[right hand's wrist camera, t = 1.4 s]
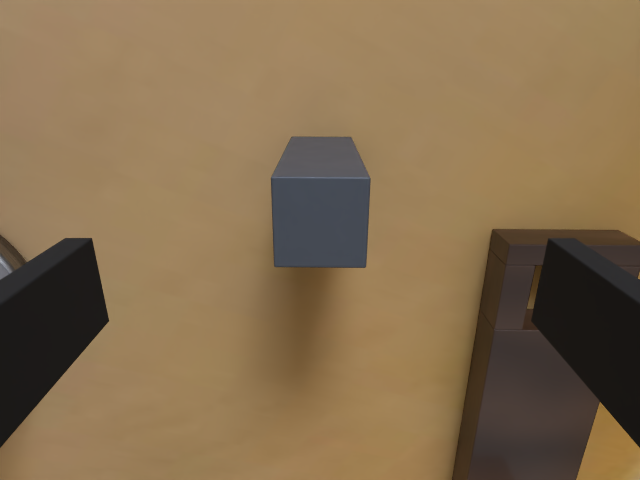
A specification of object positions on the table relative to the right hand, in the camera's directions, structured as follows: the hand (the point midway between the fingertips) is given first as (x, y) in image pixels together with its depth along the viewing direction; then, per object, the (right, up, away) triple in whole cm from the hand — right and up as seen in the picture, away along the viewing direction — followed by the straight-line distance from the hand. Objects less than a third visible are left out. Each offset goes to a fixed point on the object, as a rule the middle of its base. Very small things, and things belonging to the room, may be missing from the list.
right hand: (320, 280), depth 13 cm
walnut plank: (+17, -13, +24) cm, 32 cm away
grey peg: (0, +6, +16) cm, 18 cm away
